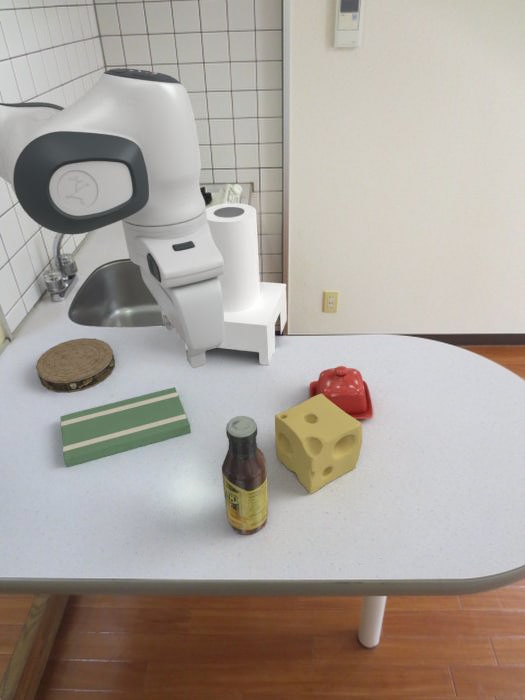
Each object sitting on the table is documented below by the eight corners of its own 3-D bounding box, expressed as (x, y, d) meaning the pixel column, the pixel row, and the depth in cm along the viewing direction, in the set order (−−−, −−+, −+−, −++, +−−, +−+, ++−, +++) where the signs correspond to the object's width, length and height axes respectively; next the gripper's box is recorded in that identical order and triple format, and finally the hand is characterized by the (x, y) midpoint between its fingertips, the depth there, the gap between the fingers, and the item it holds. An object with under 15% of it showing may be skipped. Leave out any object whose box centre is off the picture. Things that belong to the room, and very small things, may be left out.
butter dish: (311, 424, 97) (311, 388, 92) (308, 385, 106) (309, 351, 101) (374, 423, 96) (378, 387, 91) (366, 384, 106) (369, 350, 101)
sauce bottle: (223, 509, 82) (210, 412, 70) (261, 499, 83) (255, 402, 72) (233, 544, 76) (222, 445, 65) (274, 532, 78) (270, 433, 67)
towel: (66, 467, 90) (63, 458, 89) (63, 424, 100) (60, 415, 99) (190, 432, 96) (189, 424, 95) (176, 394, 106) (174, 386, 104)
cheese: (310, 496, 83) (311, 451, 77) (272, 456, 91) (270, 412, 85) (360, 468, 87) (364, 423, 82) (320, 431, 95) (321, 388, 89)
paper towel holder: (286, 320, 128) (284, 198, 111) (268, 365, 113) (262, 232, 96) (213, 313, 132) (201, 195, 115) (186, 355, 117) (167, 226, 100)
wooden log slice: (127, 353, 119) (125, 342, 117) (92, 397, 106) (88, 385, 104) (65, 345, 122) (62, 335, 121) (24, 387, 110) (19, 376, 108)
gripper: (117, 214, 63) (137, 313, 71) (167, 280, 48) (185, 398, 56) (167, 204, 65) (181, 301, 73) (230, 265, 50) (240, 380, 58)
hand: (183, 344), depth 64 cm, fingers open, 8 cm apart
